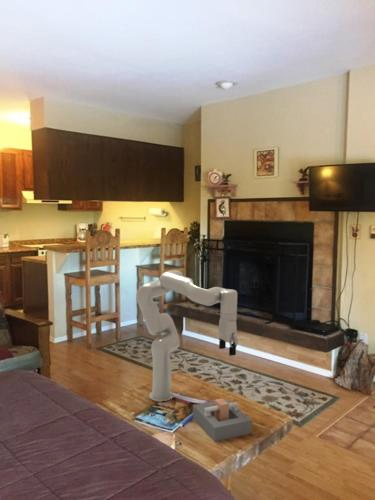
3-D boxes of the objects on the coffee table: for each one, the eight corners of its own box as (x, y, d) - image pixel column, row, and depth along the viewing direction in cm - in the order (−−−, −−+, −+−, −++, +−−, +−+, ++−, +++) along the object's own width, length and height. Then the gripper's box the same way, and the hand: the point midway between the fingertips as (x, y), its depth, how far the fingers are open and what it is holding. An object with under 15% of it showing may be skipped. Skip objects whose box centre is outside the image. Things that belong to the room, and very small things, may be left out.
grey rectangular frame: (192, 417, 198) (193, 397, 197) (226, 411, 206) (227, 392, 205) (214, 441, 178) (214, 419, 177) (251, 433, 185) (252, 412, 185)
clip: (214, 420, 194) (214, 399, 193) (221, 418, 195) (222, 398, 195) (220, 426, 188) (220, 405, 187) (228, 424, 190) (228, 403, 189)
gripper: (212, 312, 205) (211, 347, 206) (230, 321, 189) (229, 358, 191) (226, 311, 208) (225, 345, 209) (245, 320, 192) (243, 356, 194)
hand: (227, 351), depth 200 cm, fingers open, 9 cm apart
